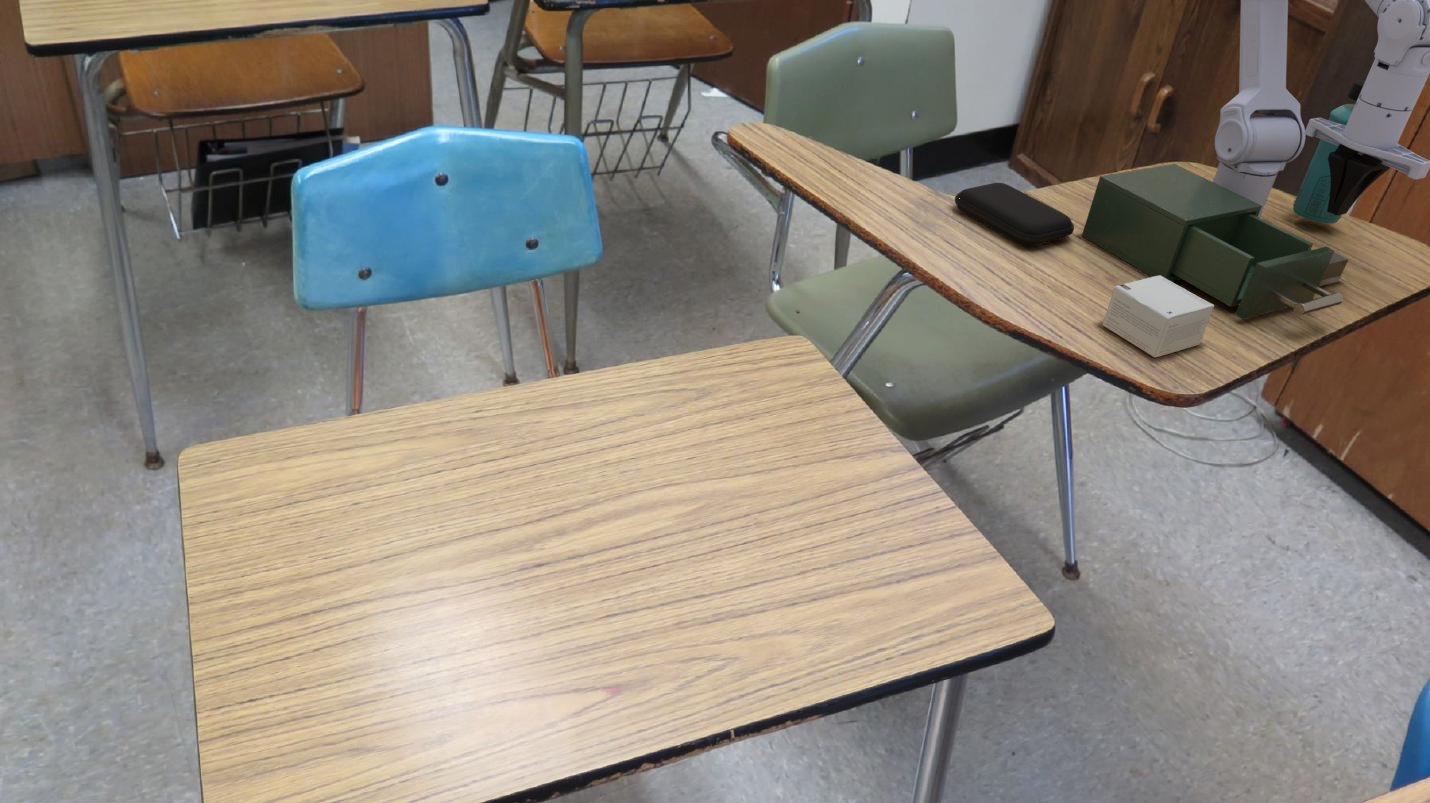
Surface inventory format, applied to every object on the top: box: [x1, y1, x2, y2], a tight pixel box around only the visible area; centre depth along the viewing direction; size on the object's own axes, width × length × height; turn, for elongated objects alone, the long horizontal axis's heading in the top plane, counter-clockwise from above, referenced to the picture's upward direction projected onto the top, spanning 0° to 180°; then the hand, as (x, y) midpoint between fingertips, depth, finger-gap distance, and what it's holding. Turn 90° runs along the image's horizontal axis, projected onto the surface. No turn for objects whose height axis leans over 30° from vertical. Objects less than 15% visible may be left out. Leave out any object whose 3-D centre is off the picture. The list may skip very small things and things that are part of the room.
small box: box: [1102, 275, 1215, 358], centre depth 119 cm, size 8×8×5 cm
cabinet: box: [1081, 163, 1262, 283], centre depth 137 cm, size 14×14×8 cm
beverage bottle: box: [1292, 79, 1366, 225], centre depth 146 cm, size 6×7×20 cm
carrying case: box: [954, 182, 1075, 248], centre depth 142 cm, size 11×3×15 cm
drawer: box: [1171, 213, 1344, 320], centre depth 128 cm, size 18×13×7 cm
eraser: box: [1319, 252, 1349, 288], centre depth 135 cm, size 8×4×3 cm, turn 119°
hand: (1336, 212), depth 131 cm, fingers closed
